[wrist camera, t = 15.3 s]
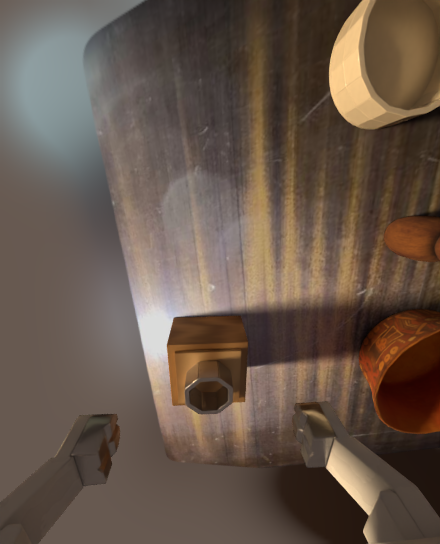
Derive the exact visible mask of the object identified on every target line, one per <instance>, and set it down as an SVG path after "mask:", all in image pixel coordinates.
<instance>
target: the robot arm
mask: <svg viewBox="0 0 440 544" xmlns="http://www.w3.org/2000/svg"><path fill="white" fill-rule="evenodd" d="M294 410H295V414H294V415H293V417H292V427H293V431H294V435H295V437H296V440H297V441H299V442H300V443H301V449H300V451H301V453H302V456H303V458H304V461H305V464H306V466H307V467H326V468H327V469H328V470H329V472H330V473H331V474H332V475H333V476H334V477H335V478H336V479H337V480H338V482H339V483H340V484H341V485H342V486H343V487H344V488H345V489H346V490H347V492H348V493H349V494H350V495H351V496H352V497H353V498H354V499H355V500H356V501H357V503H358V504H359V505H360V506H361V507H362V508H363V509H364V510H365V511H366V513H367V514H368V515H369V518H368V520H367V522H366V525H365V527H364V531H363V532H364V535H365V537H366V539H367V541H368V543H369V544H440V518H439V517H438V515H437V514H436V512H435V511H434V510H433V508H432V507H431V506H430V504H429V503H428V501H427V500H426V499H425V497H424V496H423V494H422V493H421V492H420V491H419V489H418V488H417V486H415V485H414V484H413V483H412V482H410V481H409V480H408V479H406V478H405V477H404V476H403V475H401V474H400V473H399V472H397V471H396V470H395V469H394V468H392V467H391V466H390V465H389V464H387V463H386V462H385V461H383V460H382V459H381V458H380V457H378V456H377V455H376V454H375V453H373V452H372V451H371V450H369V449H368V448H367V447H366V446H364V445H363V444H362V443H360V442H359V441H358V440H357V439H355V438H354V437H350V436H349V434H348V433H347V431H346V430H345V428H344V426H343V425H342V423H341V421H340V420H339V418H338V416H337V415H336V413H335V411H334V410H333V408H332V406H331V405H330V403H329V402H327V401H324V402H305V403H296V404H295V406H294ZM117 420H118V418H117V414H101V415H80V416H79V417H78V418H77V419H76V420H75V422H74V424H73V426H72V427H71V429H70V431H69V433H68V435H67V436H66V438H65V440H64V442H63V444H62V446H61V447H60V449H59V451H58V453H57V455H56V456H55V458H50V459H49V460H48V461H47V462H46V463H45V464H43V465H42V466H41V467H40V468H39V469H38V470H37V471H35V472H34V473H33V474H32V475H31V476H30V477H29V478H27V480H25V481H24V482H23V483H22V484H21V485H20V486H18V487H17V488H16V489H15V490H14V491H13V492H11V493H10V494H9V495H8V496H7V497H6V498H5V499H3V501H1V502H0V544H38V543H39V542H40V541H41V539H42V538H43V537H44V536H45V535H46V533H47V532H48V531H49V530H50V528H51V527H52V526H53V525H54V523H55V522H56V521H57V520H58V518H59V517H60V516H61V515H62V513H63V512H64V511H65V510H66V508H67V507H68V506H69V505H70V503H71V502H72V501H73V500H74V499H75V497H76V496H77V495H78V493H79V492H80V491H81V490H82V488H83V486H88V485H97V484H105V483H106V481H107V478H108V475H109V472H110V469H111V466H112V461H111V457H112V456H113V455H114V454H115V452H116V451H117V448H118V445H119V439H120V427H119V426H118V425H117V424H116V423H117Z"/></svg>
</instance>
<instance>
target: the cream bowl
mask: <svg viewBox="0 0 440 544" xmlns="http://www.w3.org/2000/svg"><path fill="white" fill-rule="evenodd" d="M329 83H330V90H331V94H332V98H333V100H334V103H335V105H336V107H337V109H338V111H339V112H340V113H341V115H342V116H343V117H344V118H345V119H346V120H347V121H348V122H350V123H351V124H353V125H355V126H357V127H359V128H363V129H380V128H385V127H388V126H393V125H395V124H398V123H401V122H404V121H407V120H409V119H412V118H415V117H418V116H420V115H423V114H426V113H429V112H430V111H432V110H434V109H435V108H437V107H439V106H440V0H362V1H361V2H360V4H359V5H358V6H357V7H356V9H355V10H354V11H353V12H352V14H351V15H350V16H349V18H348V19H347V20H346V22H345V23H344V25H343V27H342V29H341V31H340V32H339V34H338V37H337V39H336V42H335V44H334V48H333V51H332V55H331V60H330V69H329Z"/></svg>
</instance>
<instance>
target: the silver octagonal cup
mask: <svg viewBox="0 0 440 544" xmlns="http://www.w3.org/2000/svg"><path fill="white" fill-rule="evenodd" d="M209 381H218V382H219V383H220V384H222V385H223V387H221V388H220V389H219V390H218V391H216V392H201V391H199V390H198V389H196V388H195V386H196V385H197V384H198V383H200V382H209ZM184 393H185V405H186V406H187V407H189V408H190V409H192V410H194V411H195V412H197V413H198V414H218V412H219V413H220V412H221V411H223V410H224V409H225V408H227V407H228V406H229V405H230V404H232V402H233V384H232V376H231V371H230V369H228V368H227V367H226V366H224V365H223V364H222V363H220V362H219V361H200V362H198V363H197V364H195V365H194V366H193V367H192V368H191V369H190V370H188V371H187V373H186V380H185V389H184Z"/></svg>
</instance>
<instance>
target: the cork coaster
mask: <svg viewBox="0 0 440 544" xmlns="http://www.w3.org/2000/svg"><path fill="white" fill-rule="evenodd" d="M174 355H175V367H176V379H177V391H178V403H185V393H184V389H185V380H186V373H187V371H188V370H190V369H191V368H192V367H193V366H194V365H195V364H197V363H198V362H200V361H219V362H220V363H222V364H223V365H224V366H226V367H227V368H228V369H230V371H231V376H232V384H233V401H234V400H239V393H240V369H241V349H220V350H195V351H175V353H174ZM221 387H223V385H222V384H220V383H219V382H218V381H209V382H200V383H198V384H197V385H196V386H195V388H196V389H198V390H199V391H201V392H216V391H218V390H219V389H220V388H221Z"/></svg>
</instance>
